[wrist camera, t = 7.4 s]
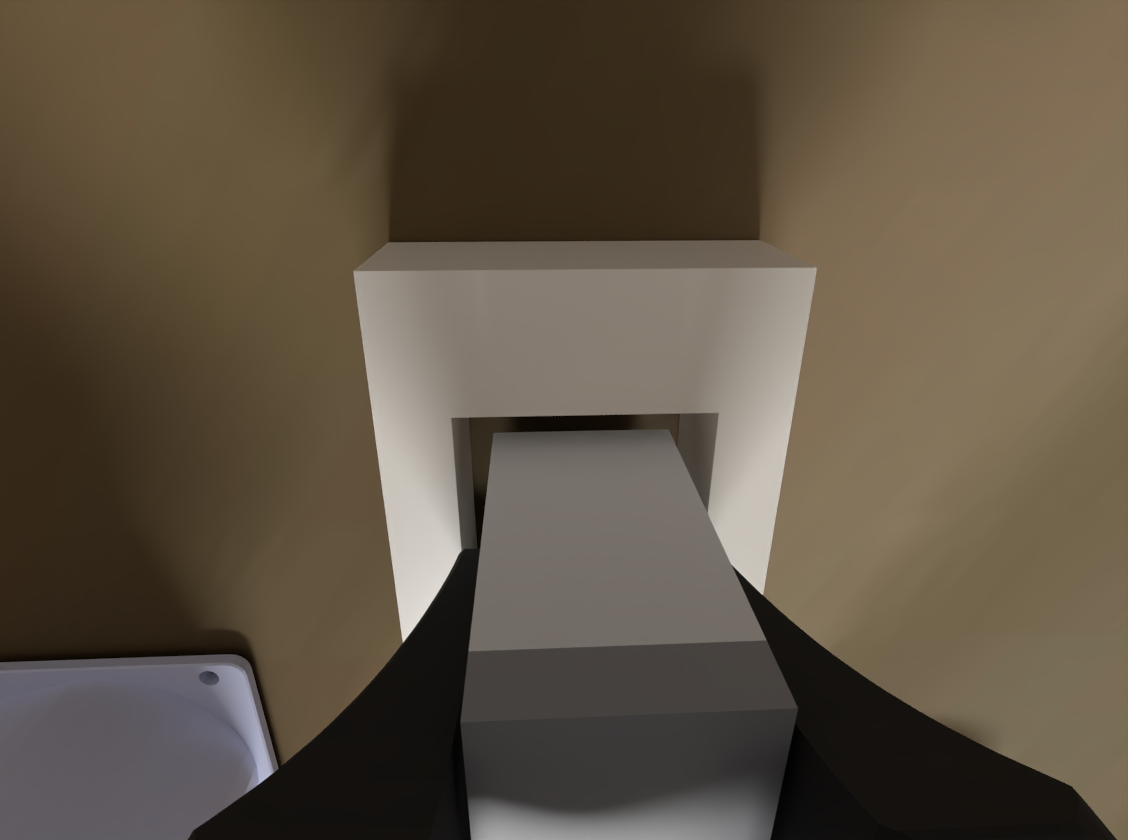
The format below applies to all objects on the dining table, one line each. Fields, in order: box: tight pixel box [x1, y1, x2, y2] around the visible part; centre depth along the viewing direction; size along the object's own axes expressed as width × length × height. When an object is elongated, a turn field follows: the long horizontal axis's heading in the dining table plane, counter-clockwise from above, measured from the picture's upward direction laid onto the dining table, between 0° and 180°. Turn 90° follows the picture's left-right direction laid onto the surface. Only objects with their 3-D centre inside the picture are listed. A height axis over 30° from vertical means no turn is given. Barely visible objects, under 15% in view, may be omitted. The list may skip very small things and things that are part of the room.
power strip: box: [353, 240, 817, 642], centre depth 17 cm, size 8×22×4 cm, turn 0°
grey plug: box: [460, 429, 798, 840], centre depth 11 cm, size 4×5×7 cm
